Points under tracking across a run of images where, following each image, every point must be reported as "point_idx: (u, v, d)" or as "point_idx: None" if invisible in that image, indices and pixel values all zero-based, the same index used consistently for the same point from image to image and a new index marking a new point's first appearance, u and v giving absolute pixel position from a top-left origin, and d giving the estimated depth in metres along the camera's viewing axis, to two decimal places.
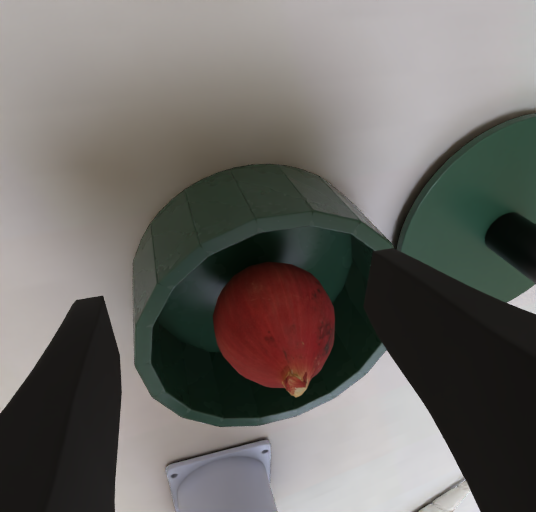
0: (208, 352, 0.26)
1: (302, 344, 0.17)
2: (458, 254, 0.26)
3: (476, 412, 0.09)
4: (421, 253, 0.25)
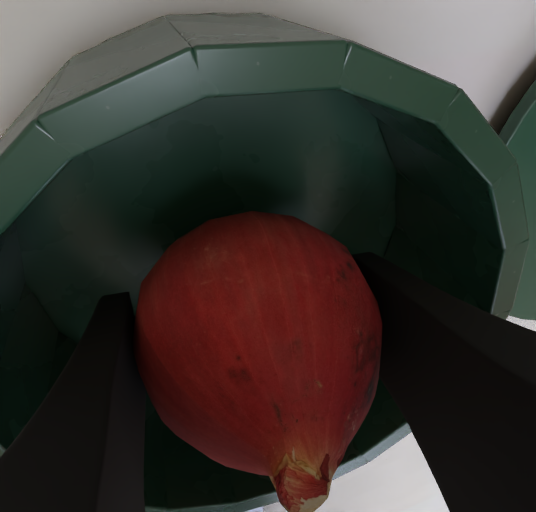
0: None
1: (317, 386, 0.07)
2: None
3: (448, 420, 0.08)
4: None
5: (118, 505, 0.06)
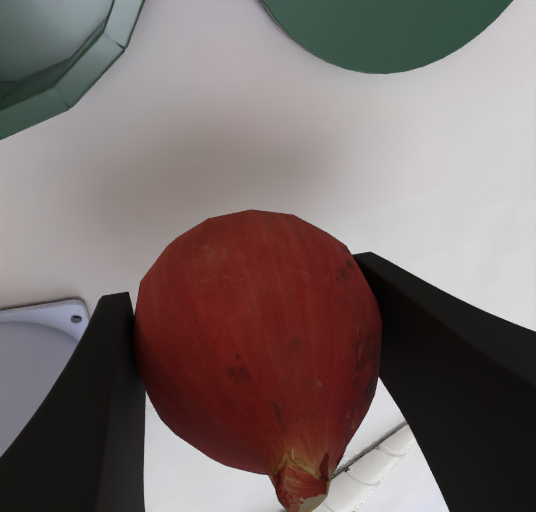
0: None
1: (317, 385, 0.07)
2: None
3: (448, 420, 0.08)
4: None
5: (118, 505, 0.06)
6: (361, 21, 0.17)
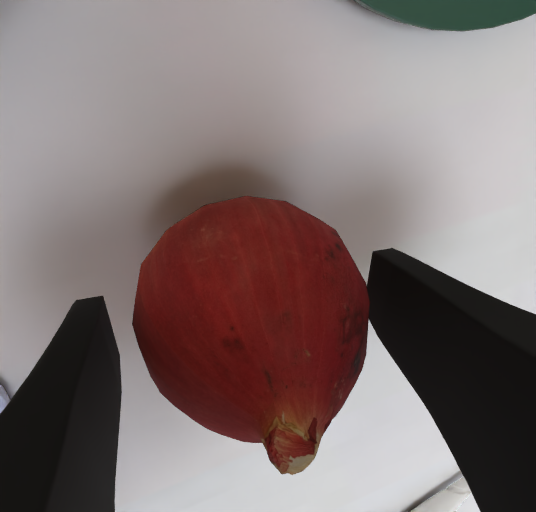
0: None
1: (306, 355, 0.08)
2: None
3: (476, 412, 0.09)
4: None
5: None
6: None
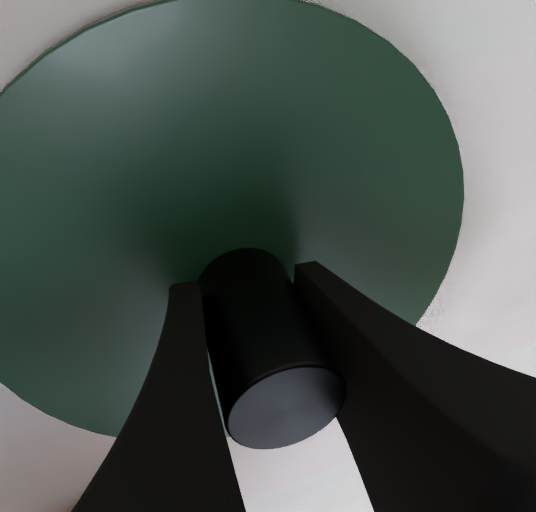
0: None
1: None
2: (145, 337, 0.12)
3: (376, 440, 0.08)
4: (34, 342, 0.11)
5: None
6: None
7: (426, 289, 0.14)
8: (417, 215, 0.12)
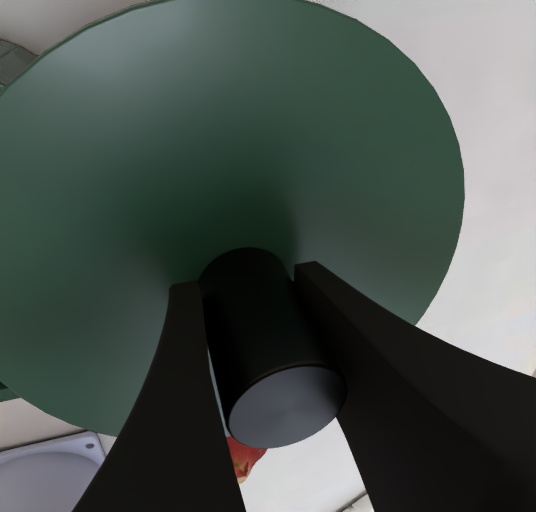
0: None
1: None
2: (146, 336, 0.12)
3: (376, 440, 0.08)
4: (34, 342, 0.11)
5: None
6: None
7: (427, 289, 0.14)
8: (418, 214, 0.12)
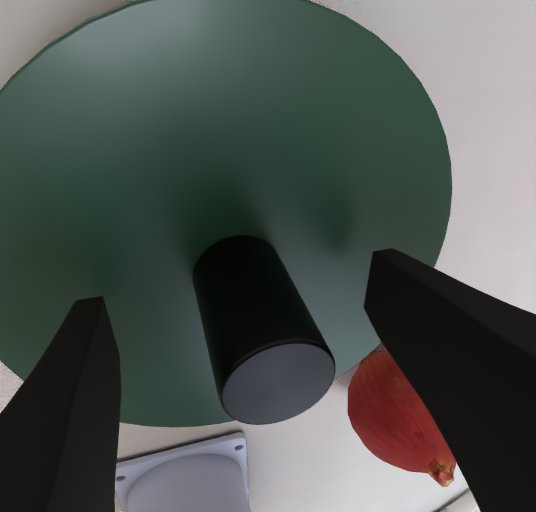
0: None
1: None
2: (144, 322, 0.12)
3: (476, 412, 0.09)
4: (36, 326, 0.11)
5: None
6: (201, 394, 0.15)
7: None
8: (407, 204, 0.13)
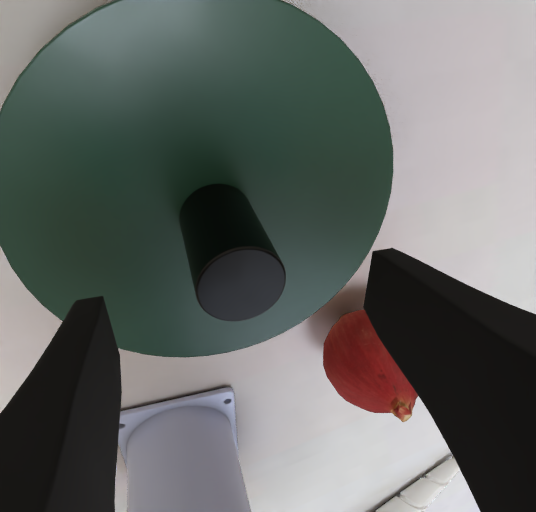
0: None
1: (407, 380, 0.22)
2: (140, 257, 0.15)
3: (476, 412, 0.09)
4: (53, 256, 0.14)
5: None
6: (189, 326, 0.17)
7: (369, 228, 0.17)
8: (355, 162, 0.15)
